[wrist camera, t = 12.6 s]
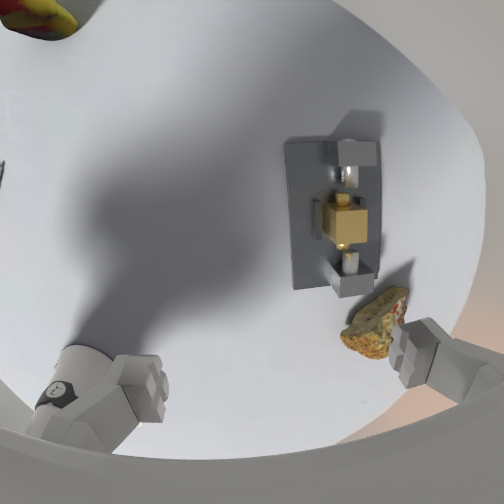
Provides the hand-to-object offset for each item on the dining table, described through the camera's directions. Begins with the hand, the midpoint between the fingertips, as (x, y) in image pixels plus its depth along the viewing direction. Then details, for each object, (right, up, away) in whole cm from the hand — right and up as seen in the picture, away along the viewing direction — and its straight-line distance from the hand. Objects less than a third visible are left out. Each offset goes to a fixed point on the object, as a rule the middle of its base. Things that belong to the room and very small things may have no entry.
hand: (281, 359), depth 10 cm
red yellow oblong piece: (-30, +38, +18) cm, 52 cm away
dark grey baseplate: (+10, +9, +31) cm, 33 cm away
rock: (+19, -7, +37) cm, 42 cm away
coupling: (+10, +8, +30) cm, 33 cm away
